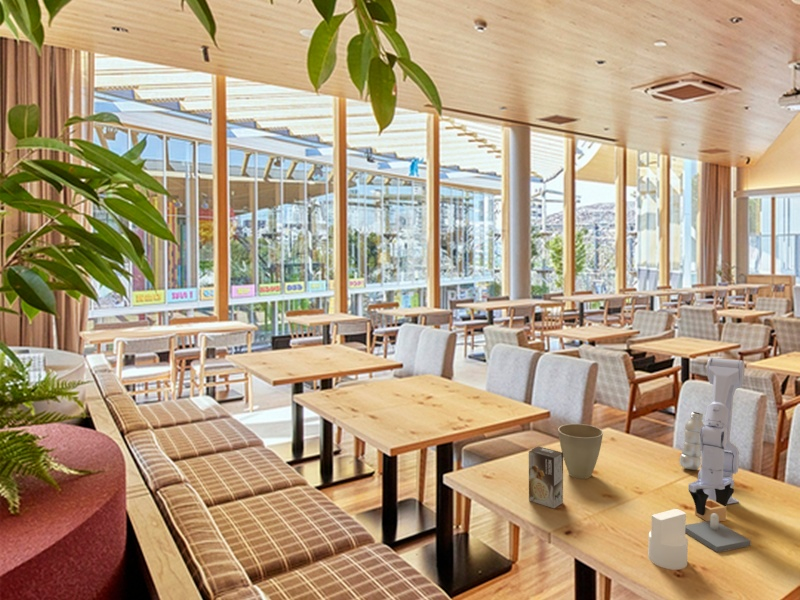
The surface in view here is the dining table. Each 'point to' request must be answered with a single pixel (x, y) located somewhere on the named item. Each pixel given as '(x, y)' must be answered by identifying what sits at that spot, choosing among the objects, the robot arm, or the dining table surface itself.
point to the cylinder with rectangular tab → (668, 540)
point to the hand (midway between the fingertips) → (710, 512)
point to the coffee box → (546, 477)
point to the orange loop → (713, 510)
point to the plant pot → (580, 448)
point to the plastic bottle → (692, 442)
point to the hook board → (716, 535)
